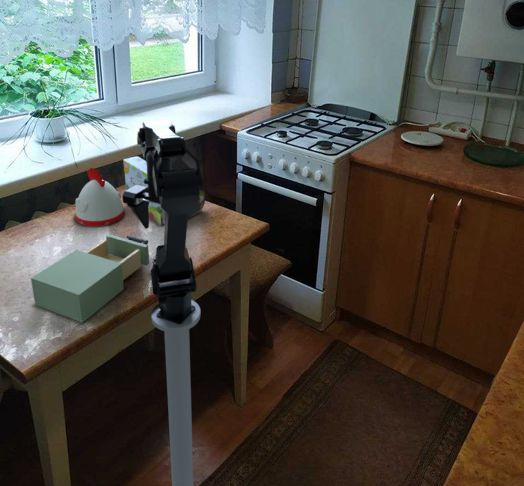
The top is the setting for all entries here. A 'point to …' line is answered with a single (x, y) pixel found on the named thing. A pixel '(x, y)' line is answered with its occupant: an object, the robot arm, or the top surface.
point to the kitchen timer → (98, 202)
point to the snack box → (141, 184)
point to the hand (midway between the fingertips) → (162, 232)
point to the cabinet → (77, 285)
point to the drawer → (123, 252)
